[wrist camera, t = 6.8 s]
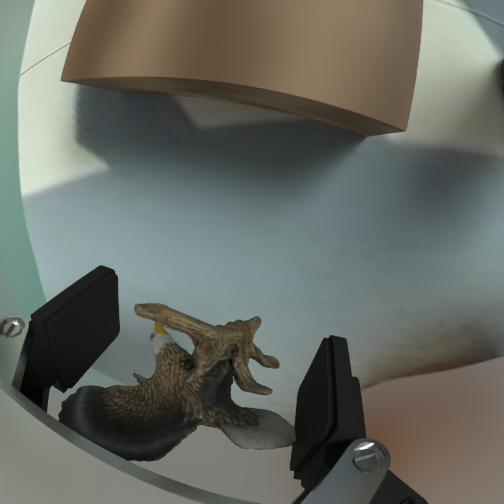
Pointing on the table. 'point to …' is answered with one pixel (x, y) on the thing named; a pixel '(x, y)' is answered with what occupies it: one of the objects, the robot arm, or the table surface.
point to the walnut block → (259, 55)
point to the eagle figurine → (181, 393)
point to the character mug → (502, 72)
